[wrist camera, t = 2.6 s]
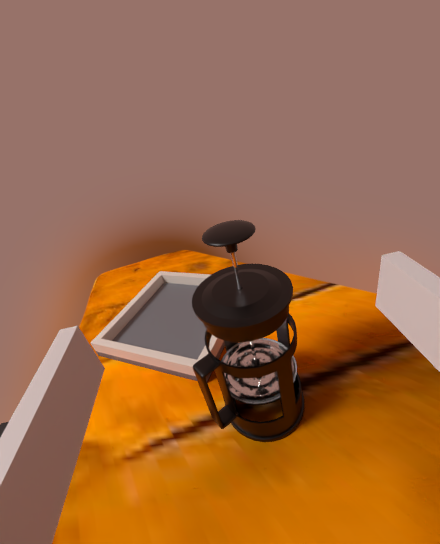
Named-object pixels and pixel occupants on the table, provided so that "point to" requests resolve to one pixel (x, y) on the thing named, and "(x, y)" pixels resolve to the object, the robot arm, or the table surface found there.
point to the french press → (248, 339)
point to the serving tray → (160, 328)
